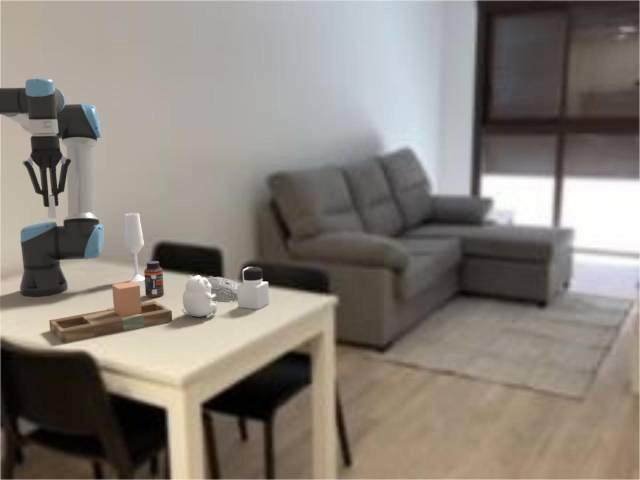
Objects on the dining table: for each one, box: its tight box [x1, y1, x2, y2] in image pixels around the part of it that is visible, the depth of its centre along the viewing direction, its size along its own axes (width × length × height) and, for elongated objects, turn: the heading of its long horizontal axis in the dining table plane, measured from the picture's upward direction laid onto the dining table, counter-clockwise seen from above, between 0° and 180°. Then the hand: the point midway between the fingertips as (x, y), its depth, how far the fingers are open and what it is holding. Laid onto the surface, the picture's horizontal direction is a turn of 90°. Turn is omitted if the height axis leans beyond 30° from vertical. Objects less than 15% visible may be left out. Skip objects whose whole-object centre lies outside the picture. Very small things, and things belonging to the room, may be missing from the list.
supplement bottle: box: [143, 260, 165, 298], centre depth 228 cm, size 6×6×11 cm
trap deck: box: [49, 300, 173, 344], centre depth 197 cm, size 13×31×3 cm, turn 125°
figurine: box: [181, 274, 218, 318], centre depth 204 cm, size 10×10×12 cm
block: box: [111, 281, 142, 316], centre depth 199 cm, size 6×6×8 cm
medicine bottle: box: [237, 266, 270, 310], centre depth 214 cm, size 7×7×12 cm
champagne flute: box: [124, 212, 145, 283], centre depth 248 cm, size 7×7×24 cm
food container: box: [206, 275, 240, 303], centre depth 229 cm, size 16×25×7 cm, turn 39°
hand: (52, 217), depth 199 cm, fingers closed
